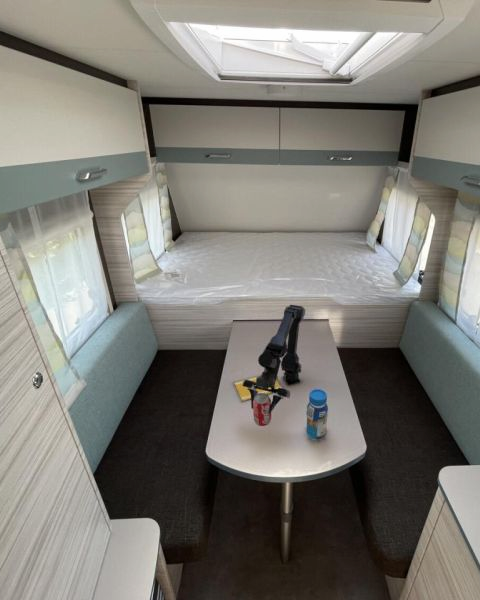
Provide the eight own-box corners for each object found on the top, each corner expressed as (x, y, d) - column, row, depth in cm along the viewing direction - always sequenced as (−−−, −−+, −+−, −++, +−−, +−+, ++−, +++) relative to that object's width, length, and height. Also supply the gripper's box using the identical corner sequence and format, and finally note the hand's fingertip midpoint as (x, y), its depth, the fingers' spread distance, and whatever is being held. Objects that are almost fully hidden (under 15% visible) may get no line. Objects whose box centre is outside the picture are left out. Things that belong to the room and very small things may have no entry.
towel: (271, 373, 168) (271, 372, 168) (282, 389, 157) (282, 388, 156) (234, 383, 161) (234, 382, 161) (242, 401, 149) (242, 400, 149)
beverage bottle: (305, 424, 136) (306, 386, 128) (325, 425, 136) (328, 387, 128) (305, 441, 129) (307, 401, 120) (327, 441, 128) (330, 402, 120)
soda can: (274, 417, 133) (273, 394, 128) (267, 429, 127) (266, 406, 122) (258, 412, 135) (257, 390, 130) (251, 425, 129) (249, 401, 124)
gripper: (243, 363, 127) (231, 403, 123) (287, 373, 122) (277, 416, 117) (252, 367, 137) (242, 405, 133) (294, 377, 132) (285, 417, 127)
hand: (260, 410), depth 127 cm, fingers closed on soda can, 7 cm apart
